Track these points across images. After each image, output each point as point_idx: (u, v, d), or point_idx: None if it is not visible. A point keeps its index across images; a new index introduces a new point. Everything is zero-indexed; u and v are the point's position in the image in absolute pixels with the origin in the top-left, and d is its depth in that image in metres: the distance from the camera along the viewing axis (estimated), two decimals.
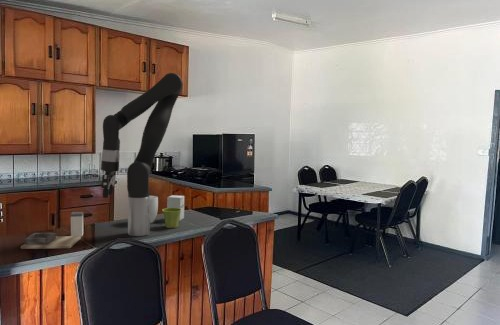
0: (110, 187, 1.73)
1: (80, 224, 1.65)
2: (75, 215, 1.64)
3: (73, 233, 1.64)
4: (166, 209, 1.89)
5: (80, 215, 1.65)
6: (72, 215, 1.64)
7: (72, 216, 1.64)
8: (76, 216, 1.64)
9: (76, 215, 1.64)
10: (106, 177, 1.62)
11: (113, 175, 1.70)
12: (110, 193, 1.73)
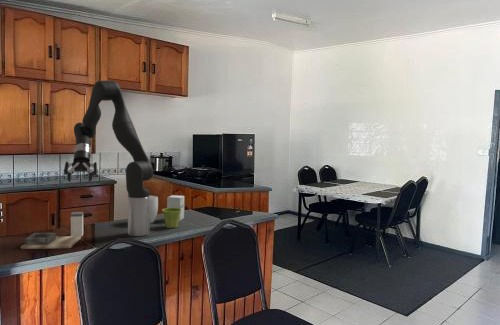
0: None
1: (80, 224, 1.65)
2: (75, 215, 1.64)
3: (73, 233, 1.64)
4: (166, 209, 1.89)
5: (80, 215, 1.65)
6: (72, 215, 1.64)
7: (72, 216, 1.64)
8: (76, 216, 1.64)
9: (76, 215, 1.64)
10: None
11: (83, 163, 1.81)
12: None
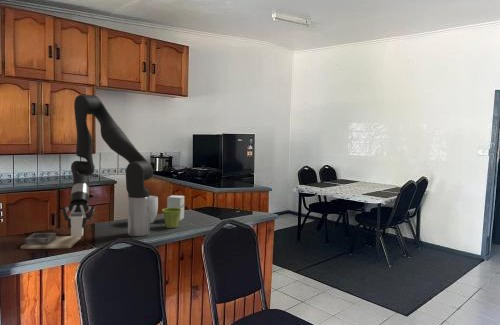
0: None
1: (80, 224, 1.65)
2: (75, 215, 1.64)
3: (73, 233, 1.64)
4: (166, 209, 1.89)
5: (80, 215, 1.65)
6: (72, 215, 1.64)
7: (72, 216, 1.64)
8: (76, 216, 1.64)
9: (76, 215, 1.64)
10: (62, 210, 1.68)
11: None
12: (82, 225, 1.66)
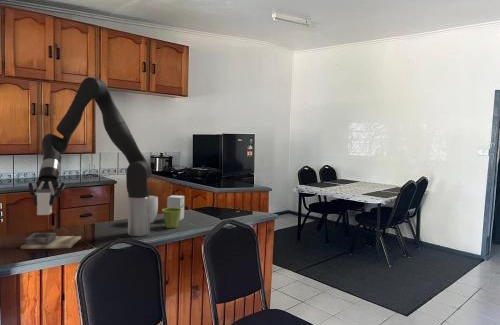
0: None
1: (47, 201, 1.52)
2: (42, 191, 1.51)
3: (39, 211, 1.51)
4: (166, 209, 1.89)
5: (48, 191, 1.51)
6: (38, 191, 1.51)
7: (38, 192, 1.51)
8: (43, 192, 1.51)
9: (43, 191, 1.51)
10: (29, 186, 1.55)
11: (49, 181, 1.57)
12: None
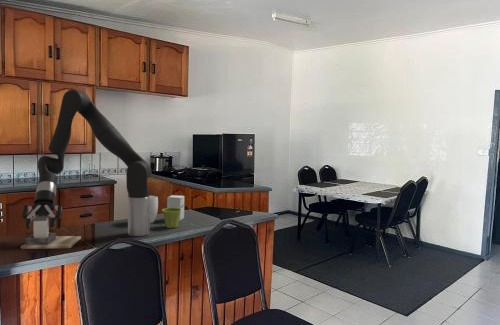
0: None
1: (44, 229, 1.51)
2: (38, 219, 1.50)
3: None
4: (166, 209, 1.89)
5: (44, 219, 1.50)
6: (35, 219, 1.49)
7: (35, 221, 1.49)
8: (39, 220, 1.50)
9: (39, 219, 1.50)
10: None
11: (45, 205, 1.56)
12: None
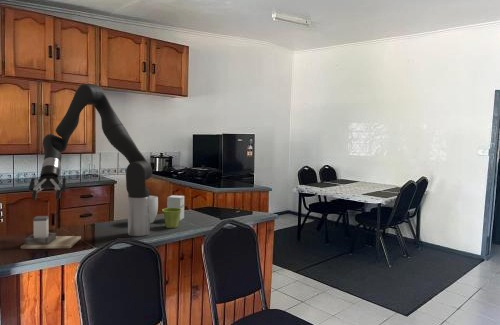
0: None
1: (44, 229, 1.51)
2: (38, 219, 1.50)
3: None
4: (166, 209, 1.89)
5: (44, 219, 1.50)
6: (35, 219, 1.49)
7: (35, 221, 1.49)
8: (39, 220, 1.50)
9: (39, 219, 1.50)
10: None
11: None
12: (56, 197, 1.63)
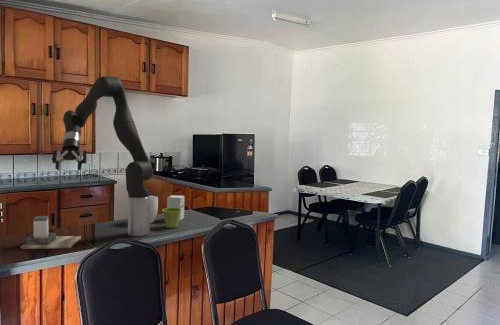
0: None
1: (44, 229, 1.51)
2: (38, 219, 1.50)
3: None
4: (166, 209, 1.89)
5: (44, 219, 1.50)
6: (35, 219, 1.49)
7: (35, 221, 1.49)
8: (39, 220, 1.50)
9: (39, 219, 1.50)
10: None
11: (71, 151, 1.75)
12: None
